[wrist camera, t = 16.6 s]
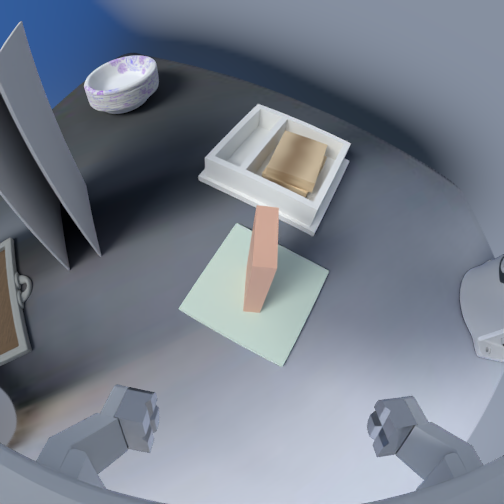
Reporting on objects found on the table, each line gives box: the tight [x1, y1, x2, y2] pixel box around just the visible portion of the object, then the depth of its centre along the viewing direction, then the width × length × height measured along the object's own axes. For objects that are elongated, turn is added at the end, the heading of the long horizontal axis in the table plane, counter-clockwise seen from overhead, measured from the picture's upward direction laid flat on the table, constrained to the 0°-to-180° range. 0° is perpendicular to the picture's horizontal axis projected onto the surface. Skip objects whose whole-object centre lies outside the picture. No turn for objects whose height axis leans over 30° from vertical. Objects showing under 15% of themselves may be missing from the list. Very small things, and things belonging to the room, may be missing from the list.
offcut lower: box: [262, 156, 327, 198], centre depth 45 cm, size 7×9×2 cm
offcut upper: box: [265, 130, 327, 193], centre depth 43 cm, size 7×9×2 cm
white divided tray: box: [198, 104, 351, 236], centre depth 45 cm, size 19×17×5 cm
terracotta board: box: [243, 205, 279, 313], centre depth 32 cm, size 2×6×13 cm, turn 177°
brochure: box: [0, 21, 101, 271], centre depth 27 cm, size 14×6×30 cm, turn 27°
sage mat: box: [179, 223, 329, 367], centre depth 38 cm, size 14×14×1 cm
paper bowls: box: [84, 56, 159, 114], centre depth 51 cm, size 15×15×8 cm
